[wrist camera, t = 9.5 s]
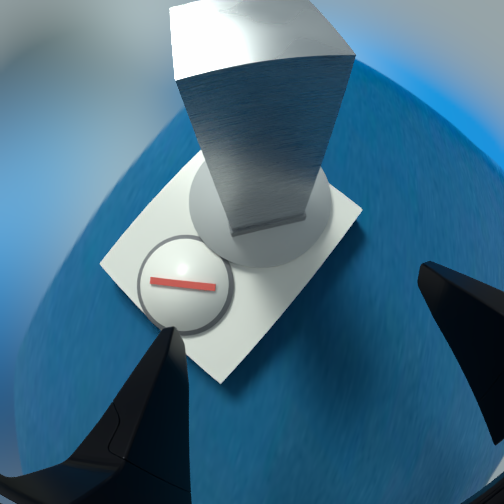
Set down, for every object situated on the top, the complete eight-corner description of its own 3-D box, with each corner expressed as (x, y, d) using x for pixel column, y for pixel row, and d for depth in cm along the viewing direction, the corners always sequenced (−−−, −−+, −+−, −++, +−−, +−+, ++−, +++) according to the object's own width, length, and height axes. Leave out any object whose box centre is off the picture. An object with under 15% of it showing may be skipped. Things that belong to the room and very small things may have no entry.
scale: (360, 210, 21) (370, 199, 18) (224, 378, 18) (219, 385, 16) (241, 126, 23) (239, 109, 20) (111, 267, 20) (96, 262, 18)
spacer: (305, 220, 18) (363, 58, 5) (231, 237, 18) (169, 85, 5) (285, 157, 19) (300, -12, 7) (218, 172, 19) (165, 7, 7)
